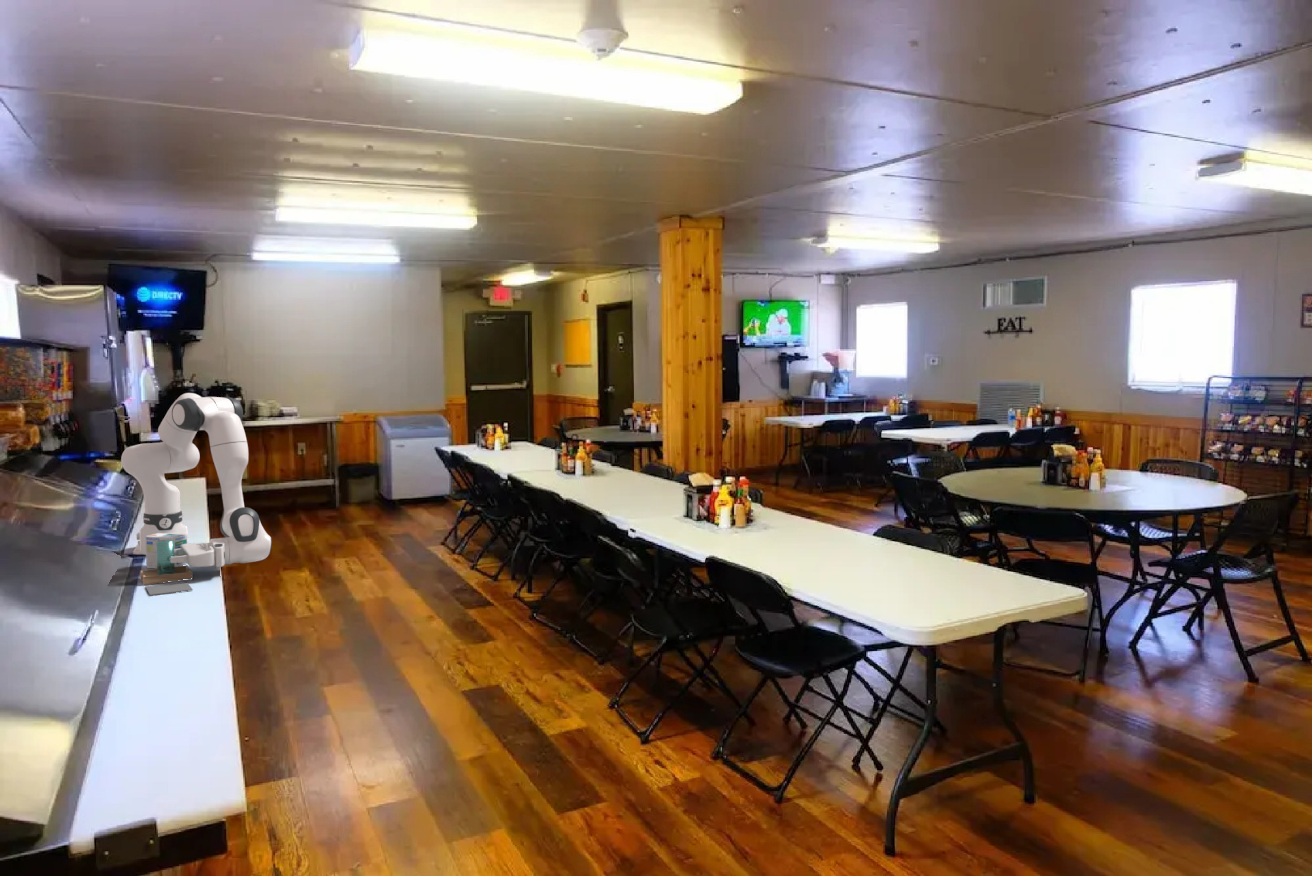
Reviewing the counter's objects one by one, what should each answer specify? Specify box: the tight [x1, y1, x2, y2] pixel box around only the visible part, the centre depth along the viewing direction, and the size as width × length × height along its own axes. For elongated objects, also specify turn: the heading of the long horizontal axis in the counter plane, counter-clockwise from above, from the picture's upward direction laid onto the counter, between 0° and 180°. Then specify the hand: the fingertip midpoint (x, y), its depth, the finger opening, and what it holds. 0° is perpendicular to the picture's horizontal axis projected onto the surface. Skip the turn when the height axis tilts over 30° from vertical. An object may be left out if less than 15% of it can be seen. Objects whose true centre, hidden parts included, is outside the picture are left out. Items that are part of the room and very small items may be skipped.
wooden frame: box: [139, 565, 193, 586], centre depth 268 cm, size 10×13×2 cm
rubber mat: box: [144, 582, 193, 597], centre depth 256 cm, size 11×11×1 cm
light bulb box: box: [145, 533, 189, 569], centre depth 284 cm, size 11×7×11 cm, turn 84°
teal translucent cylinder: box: [156, 540, 175, 575], centre depth 268 cm, size 5×5×12 cm
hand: (167, 556), depth 268 cm, fingers open, 8 cm apart
